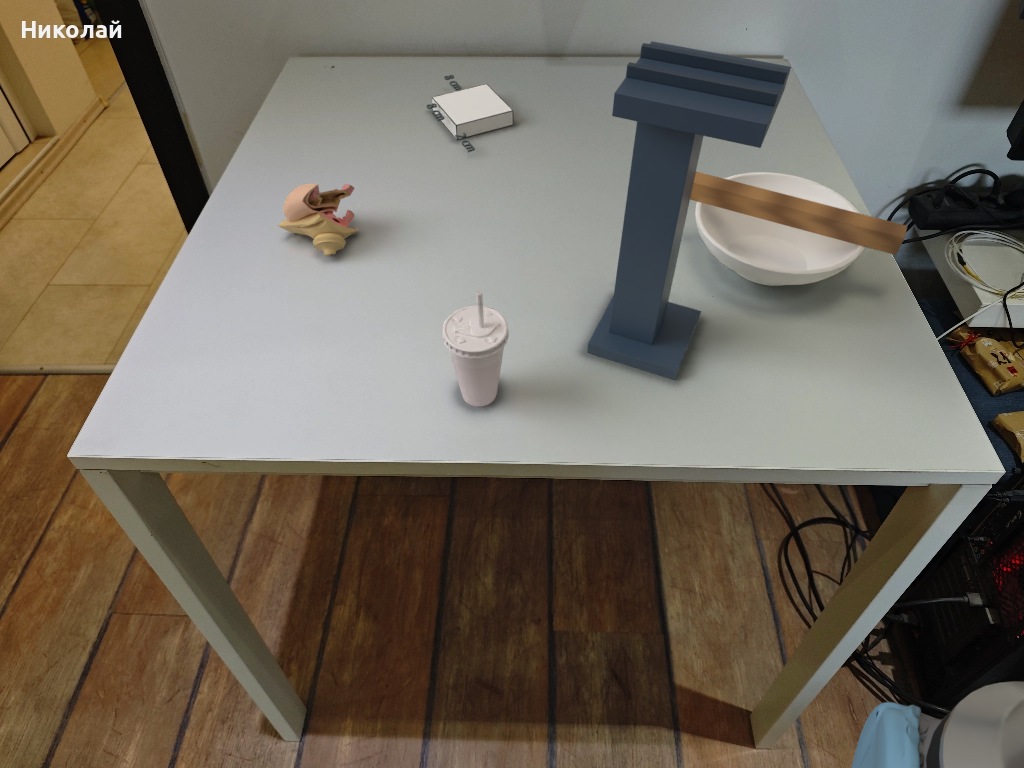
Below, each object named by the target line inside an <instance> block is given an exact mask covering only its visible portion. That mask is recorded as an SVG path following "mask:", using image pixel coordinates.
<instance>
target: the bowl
mask: <svg viewBox="0 0 1024 768" xmlns="http://www.w3.org/2000/svg"><path fill="white" fill-rule="evenodd" d="M723 179H727V180H731V181H735V182H739V183H743V184H747V185H751V186H755V187H758V188H762V189H766V190H770V191H774V192H778V193H782V194H786V195H790V196H793V197H797V198H801V199H805V200H809V201H813V202H817V203H821V204H825V205H828V206H832V207H836V208H840V209H844V210H848V211H852V212H856V213H859V214H861V212H860V211H859V210H858V209H857V208H856V207H855V206H854V205H853V203H852V202H850V201H849V200H847V198H845V197H844V196H843V195H841V194H840V193H838V192H836V191H835V190H833V189H832V188H830V187H828V186H826V185H824V184H821V183H819V182H816V181H814V180H811V179H809V178H808V179H807V178H804V177H801V176H797V175H792V174H788V173H780V172H770V171H756V172H755V171H753V172H745V173H738V174H734V175H731V176H726V177H723ZM695 223H696V227H697V230H698V234H699V237H700V239H701V240H702V241H703V243H704V245H705V246H706V248H707V250H708V251H709V252H710V253H711V255H712V256H714V258H716V259H717V261H718V262H720V263H721V264H723V265H724V266H725V267H727V268H728V269H730V270H732V271H734V272H735V273H736V274H738V275H739V276H740V277H742V278H744V279H746V280H747V281H750V282H753V283H755V284H759V285H762V286H763V285H764V286H769V287H770V286H771V287H781V286H793V285H794V286H800V285H807V284H812V283H813V284H814V283H817V282H820V281H823V280H826V279H829V278H830V277H833V276H835V275H837V274H838V273H841V272H842V271H844V270H845V269H847V268H848V267H849V266H851V265H852V264H853V263H854V262H855V261H856V260H857V259H858V258H859V256H860V255H861V254H862V253H863V251H864V249H865V247H864V246H860V245H856V244H853V243H849V242H845V241H842V240H838V239H834V238H830V237H827V236H823V235H819V234H816V233H812V232H808V231H805V230H801V229H797V228H793V227H790V226H786V225H782V224H779V223H775V222H771V221H768V220H764V219H760V218H756V217H753V216H749V215H745V214H742V213H738V212H734V211H730V210H727V209H723V208H719V207H716V206H712V205H708V204H705V203H701V202H697V201H696V205H695Z"/></svg>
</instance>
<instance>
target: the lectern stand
mask: <svg viewBox="0 0 1024 768" xmlns="http://www.w3.org/2000/svg"><path fill="white" fill-rule="evenodd" d="M640 46H641V47H640V54H639V58H638V59H637V61H636V62H631V61H630V62H628V64H627V65H626V71H625V72H626V73H625V77H624V79H623V80H622V81H621V83H620V85H619V86H618V87H617V89H616V90H615V91H614V96H613V104H612V113H611V116H612V117H614V118H620V119H624V120H627V121H628V120H629V121H634V122H636V126H635V135H634V142H633V148H632V157H631V164H630V171H629V177H628V184H627V185H628V187H627V193H626V201H625V208H624V216H623V222H622V223H623V224H622V229H621V230H622V231H621V238H620V246H619V252H618V260H617V269H616V276H615V283H614V288H613V289H614V290H613V295H612V297H611V299H610V301H609V303H608V304H607V306H606V308H605V310H604V312H603V315H602V316H601V318H600V320H599V321H598V324H597V326H596V327H595V329H594V331H593V333H592V335H591V337H590V338H589V341H588V342H587V349H586V353H587V354H591V355H594V356H597V357H600V358H604V359H607V360H610V361H613V362H616V363H619V364H622V365H626V366H629V367H632V368H635V369H639V370H641V371H644V372H648V373H651V374H654V375H658V376H661V377H664V378H667V379H670V380H674V381H675V380H676V379H677V376H678V373H679V371H680V369H681V366H682V364H683V361H684V359H685V356H686V354H687V351H688V348H689V346H690V344H691V341H692V338H693V337H694V334H695V330H696V328H697V326H698V323H699V321H700V318H701V313H702V310H699V309H695V308H692V307H688V306H685V305H681V304H677V303H674V302H671V301H669V300H670V295H671V290H672V285H673V280H674V276H675V272H676V268H677V263H678V259H679V258H678V257H679V254H680V249H681V245H682V244H681V243H682V238H683V234H684V229H685V225H686V220H687V215H688V211H689V206H690V202H691V200H690V197H691V192H692V188H693V183H694V178H695V174H696V172H697V168H698V164H699V159H700V155H701V154H700V153H701V149H702V146H703V141H704V137H707V138H712V139H717V140H722V141H725V142H730V143H736V144H741V145H745V146H750V147H753V148H758V149H761V148H762V146H763V143H764V141H765V138H766V136H767V134H768V131H769V128H770V126H771V124H772V120H773V118H774V116H775V114H776V111H777V109H778V107H779V104H780V102H781V99H782V97H783V95H784V92H785V90H786V86H787V82H788V79H789V77H790V72H791V69H792V66H789V65H783V64H778V63H772V62H767V61H761V60H756V59H751V58H745V57H740V56H734V55H729V54H723V53H718V52H714V51H708V50H707V51H706V50H702V49H697V48H691V47H685V46H680V45H675V44H670V43H669V44H668V43H664V42H657V41H653V40H652V41H650V43H647V42H643V43H642V44H641V45H640Z"/></svg>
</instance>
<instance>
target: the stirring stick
mask: <svg viewBox="0 0 1024 768" xmlns="http://www.w3.org/2000/svg"><path fill="white" fill-rule="evenodd" d="M690 201H694V202H696V203H697V202H701V203H705V204H708V205H712V206H716V207H719V208H723V209H727V210H730V211H734V212H738V213H742V214H745V215H749V216H753V217H756V218H760V219H764V220H768V221H771V222H775V223H779V224H782V225H786V226H790V227H793V228H797V229H801V230H805V231H808V232H812V233H816V234H819V235H823V236H827V237H830V238H834V239H838V240H842V241H845V242H849V243H853V244H856V245H860V246H864V248H868V249H872V250H876V251H879V252H883V253H886V254H890V255H893V256H897V255H898V252H899V250H900V248H901V246H902V244H903V242H904V240H905V238H906V234H907V230H908V225H906V224H903V223H898V222H894V221H890V220H886V219H882V218H879V217H876V216H875V217H874V216H871V215H867V214H864V213H860V214H859V213H856V212H852V211H848V210H844V209H840V208H836V207H832V206H828V205H825V204H821V203H817V202H813V201H809V200H805V199H801V198H797V197H793V196H790V195H786V194H782V193H778V192H774V191H770V190H766V189H762V188H758V187H755V186H751V185H747V184H743V183H739V182H735V181H731V180H727V179H724V177H720V176H715V175H713V174H712V175H711V174H707V173H704V172H700V171H696V174H695V178H694V183H693V188H692V192H691V197H690Z"/></svg>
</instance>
